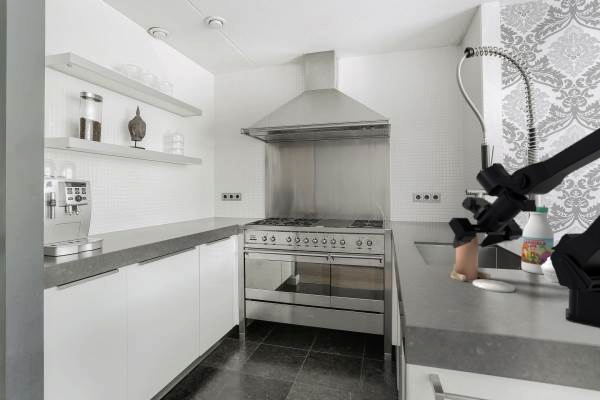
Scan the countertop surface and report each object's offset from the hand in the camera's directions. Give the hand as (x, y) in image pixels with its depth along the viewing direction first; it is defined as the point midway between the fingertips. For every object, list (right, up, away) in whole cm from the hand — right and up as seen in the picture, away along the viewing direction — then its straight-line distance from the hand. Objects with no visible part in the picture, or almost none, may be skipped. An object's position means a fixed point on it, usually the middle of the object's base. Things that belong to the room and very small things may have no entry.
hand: (467, 246), depth 86 cm
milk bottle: (+26, -9, +8) cm, 28 cm away
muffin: (+22, -9, -3) cm, 24 cm away
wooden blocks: (0, -9, 0) cm, 9 cm away
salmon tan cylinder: (0, -9, 0) cm, 9 cm away
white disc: (+2, -9, -8) cm, 12 cm away
